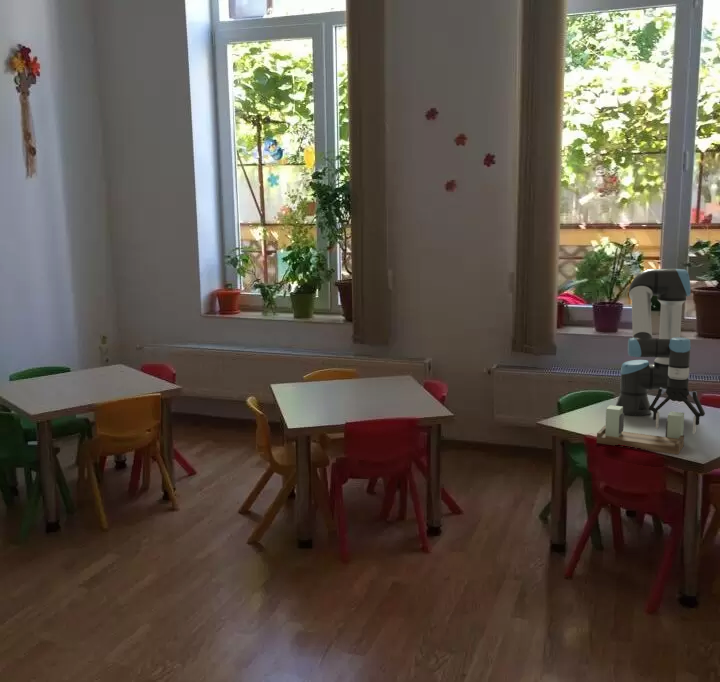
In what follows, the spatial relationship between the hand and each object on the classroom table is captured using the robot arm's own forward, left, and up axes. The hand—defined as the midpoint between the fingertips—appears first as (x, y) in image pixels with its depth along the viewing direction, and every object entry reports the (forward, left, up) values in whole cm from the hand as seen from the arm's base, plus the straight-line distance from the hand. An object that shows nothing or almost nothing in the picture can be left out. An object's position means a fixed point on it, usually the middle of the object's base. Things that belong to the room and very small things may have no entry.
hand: (675, 430), depth 296 cm
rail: (+11, -11, -4) cm, 16 cm away
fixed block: (+11, -21, -2) cm, 24 cm away
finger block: (0, 0, -4) cm, 4 cm away
